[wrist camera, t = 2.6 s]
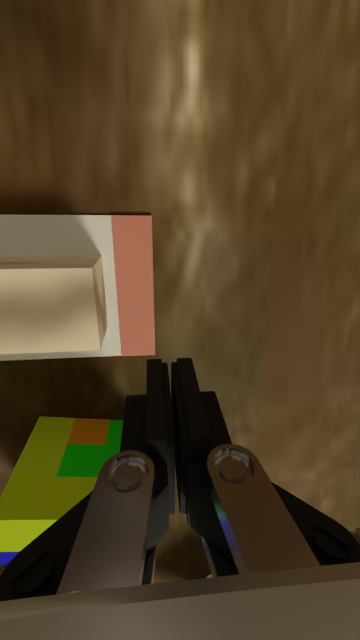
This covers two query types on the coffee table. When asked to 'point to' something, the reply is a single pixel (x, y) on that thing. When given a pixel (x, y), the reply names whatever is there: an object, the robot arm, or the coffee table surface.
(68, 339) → the birch block
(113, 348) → the lane
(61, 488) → the puzzle toy
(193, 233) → the coffee table surface
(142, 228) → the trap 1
